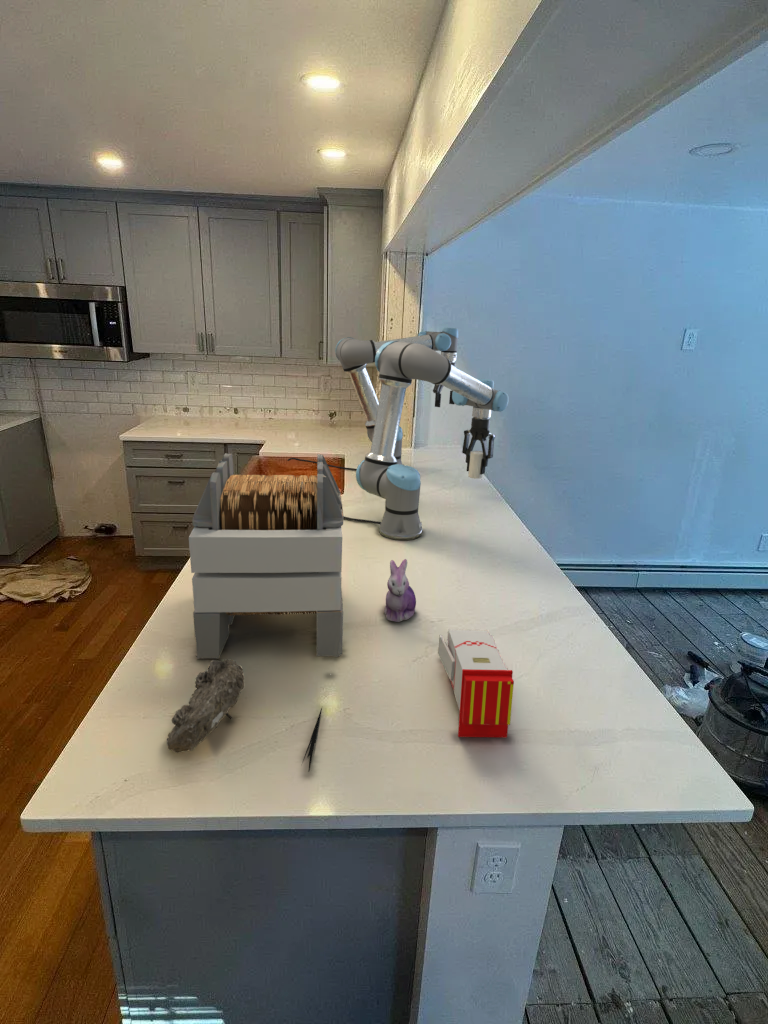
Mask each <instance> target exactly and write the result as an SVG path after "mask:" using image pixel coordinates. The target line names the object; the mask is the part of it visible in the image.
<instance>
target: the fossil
mask: <svg viewBox="0 0 768 1024" xmlns="http://www.w3.org/2000/svg"><path fill="white" fill-rule="evenodd" d="M243 670H244V669H243V667H242V665H240V664H237V662H236V661H235V660H234V659H232V658H231V659H227V658H226V659H224V660H223V661H222V660H217V659H212V660H211V661H210V663H209V665H208V666H207V671H201V672H199V673H198V674H197V675H196V676H195V680H194V684H195V685H194V687H195V689H194V690H193V693H192V694H191V697H190V698H189V700H188V704H184V705H182V706H181V707H180V709H177V710H176V711H175V713H174V715H173V716H172V718H171V723H172V724H173V727H172V730H171V731H170V732H168V734H167V738H166V741H167V742H166V745H167V749H168V750H169V751H173V752H174V753H176V754H178V753H182V752H188V751H189V752H192V751H193V750H195V748H196V747H197V746H199V744H200V743H201V742H203V741H204V740H205V739H206V738H207V737H208V736H209V735H210V734H211V733H212V732H214V730H215V729H217V727H218V726H219V724H220V722H221V721H222V720H223V719H224V718H225V716H226V717H227V719H229V720H233V717H232V715H230V714H229V710H230V709H231V708H234V706H235V704H236V703H237V702H238V699H239V697H240V695H241V693H242V691H243V690H245V689H244V688H245V675H244V671H243Z"/></svg>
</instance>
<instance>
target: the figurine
mask: <svg viewBox="0 0 768 1024" xmlns="http://www.w3.org/2000/svg"><path fill="white" fill-rule="evenodd" d="M407 567H408V559H406V558H404V559H403V560H402V561H401V563H400V565H399V566H398V565H397V563H396V562H395V561H394V560H393V559H391V560H390V561H389V570H390V576H389V578H388V579H387V589H388V591H387V592H386V594H385V595H386V596H385V607H384V615H385V616H386V620H387V621H391V622H395V623H400V622H402V621H406V620H409V619H410V618H411V617H413V616H414V615H415V610H416V606H417V597H416V593H415V591H414V590H413V587H411V586H410V582H409V579H408V577H407V574H406V571H407Z"/></svg>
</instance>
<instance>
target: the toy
mask: <svg viewBox="0 0 768 1024" xmlns="http://www.w3.org/2000/svg"><path fill="white" fill-rule="evenodd" d="M446 640H447V643H446V641H445V639H444V636H443V635H442V634H439V637H438V646H437V656H438V657H439V659H440V661H441V663H442V666H443V668H444V670H445V672H446V674H447V677H448V679H449V681H450V684H451V687H452V690H453V693H454V697H455V701H456V705H457V708H458V711H459V714H458V715H459V716H458V730H457V731H458V732H457V737H458V738H508V731H509V726H510V725H511V717H512V707H513V697H514V696H513V695H514V684H515V680H514V679H513V673H514V671H513V670H512V669H508V667H507V665H506V662H505V661H504V659H503V658H502V655H501V653H500V651H499V649H498V647H497V643H496V639H495V637H494V635H493V634H491V632H490V631H489V629H467V628H466V629H465V628H463V629H461V628H460V629H459V628H448V630H447V639H446Z"/></svg>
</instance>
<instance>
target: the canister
mask: <svg viewBox="0 0 768 1024" xmlns="http://www.w3.org/2000/svg"><path fill="white" fill-rule="evenodd" d="M483 458H484V457H483V451H482V450H472V451H471V454H470V464H469V471H468V475H467V476H468V478H470V479H474V480H475V479H476V480H478V479H482V478H483V474H480V471H481V462H482V459H483Z"/></svg>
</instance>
